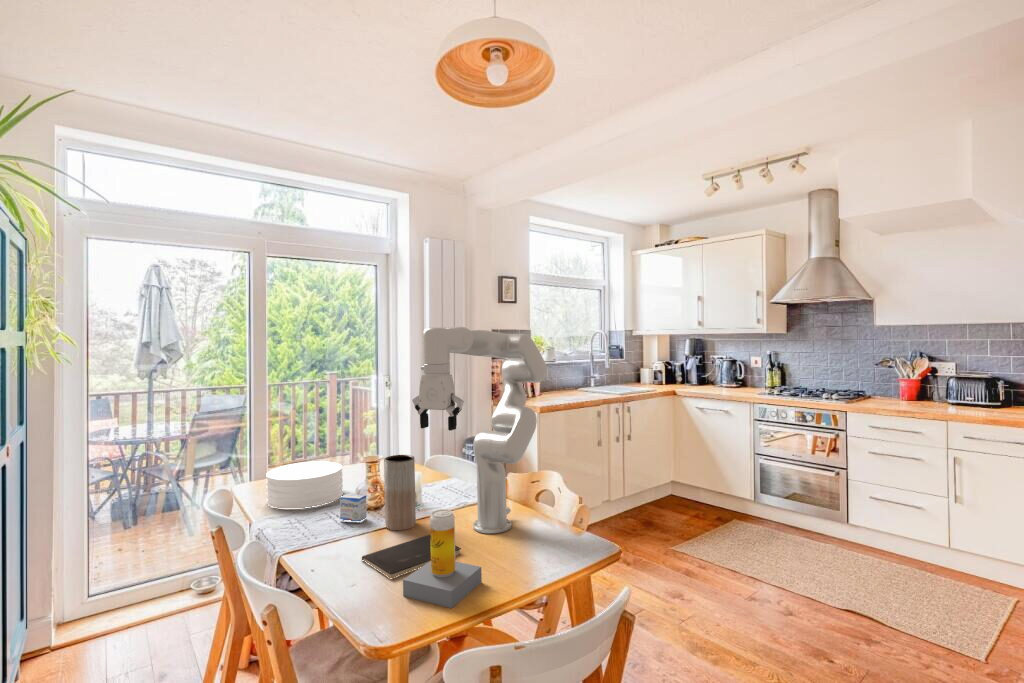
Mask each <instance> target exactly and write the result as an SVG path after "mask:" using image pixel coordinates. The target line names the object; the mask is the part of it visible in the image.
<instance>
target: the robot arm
mask: <svg viewBox="0 0 1024 683" xmlns="http://www.w3.org/2000/svg"><path fill="white" fill-rule="evenodd" d="M422 333H423V334H422V335H423V336H422V338H423V342H422V344H423V345H422V346H423V348H422V349H423V365H422V366H421V371H423V374H421V376H420V382H419V390H418V391H419V392H418V393H419V394H418V395H417V396H416V397H414V398H412V401H411V402H412V404H413V405H414V408H415V410H416V411H417V414H418V415H419V424H420V429H425V428H429V424H430V422H429V418H430V417H429V413H428V411H429V410H432V411H433V410H434V411H446V412H447V414H448V415H449V416H448V417H447V427H448V428H447V430H448V431H454V430H456V429H457V424H458V423H457V421H458V420H457V417H458V416H459V414H460V412H461V411H462V409H463V407H464V405H465V401H464V400H463V399H461V398H460V397H458V396H457V395H456V391H455V383H454V379H453V378H454V377H453V375H452V374H451V361H450V360H451V356H450V355H451V354H459V355H468V356H475V357H484V358H494V359H495V358H497V359H506V360H505V361H503V363H502V365H501V376H502V381H503V386H504V388H503V394H502V396H501V398H500V400H499V402H498V404H497V405H496V407H495V409H494V412H493V413H492V415H491V418H490V426H491V429H493V430H484V431H483V430H482V431H480V432H479V433H477V434H476V435H475V437H474V439H473V442H472V449H473V455H474V459H475V465H476V467H475V468H476V496H477V498H476V499H477V501H476V502H477V520H475V521H474V522H473V524H472V527H473V529H474V530H475V531H476V532H478V533H481V534H489V535H490V534H491V535H492V534H500V533H504V532H507V531H509V530H510V529H511V528H512V521H511V520H509V519H507V516H508V514H510V513H511V511H512V510H511V508H510V507H509V506H508V507H507V473H506V469H505V466H504V464H511V465H512V464H513V465H514V464H517V463H519V462H520V461H521V460H522V458H523V457H524V455H525V453H526V450H527V449H528V447H529V445H530V443H531V440H532V438H533V436H534V434H535V431H536V428H537V422H538V418H537V414H536V412H535V411H534V410H533V409H532V408H530V407H528V406H526V403H527V400H528V399H527V398H528V396H527V393H526V391H525V389H524V387H523V383H531V384H532V383H533V384H534V383H535V384H537V383H541V382H543V381H544V380H545V379H546V377H547V374H548V370H547V369H548V368H547V365H546V364H547V363H546V361H545V359H544V357H543V356H542V354H541V352H540V350H539V348H538V347H537V345H536V343H535V341H534V340H533V339H532V338H531V337H530V336H529V335H528V334H526V333H503V332H498V331H492V330H487V329H486V330H485V329H475V330H474V329H471V330H470V329H469V328H467V327H464V326H443V327H442V326H441V327H427V328H425V329H424V330H423V332H422ZM455 405H456V407H455ZM503 463H504V464H503Z"/></svg>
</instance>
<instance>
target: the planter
mask: <svg viewBox="0 0 1024 683" xmlns="http://www.w3.org/2000/svg"><path fill="white" fill-rule="evenodd" d="M415 461H416V460H415V456H414V455H411V454H396V455H389V456H386V457H384V458H383V477H384V478H383V479H384V480H383V481H384V482H383V484H384V517H385V518H384V520H385V521H384V523H385V525H384V526H385V528H386V527H387V528H388V530H389V529H390V530H389V531H395V530H399V531H405V530H409V529H411V528H414V526H416V523H417V520H416V519H417V516H416V514H417V512H416V510H417V509H416V474H415V472H416V466H415V464H416V463H415ZM387 528H386V529H387Z"/></svg>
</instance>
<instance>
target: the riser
mask: <svg viewBox="0 0 1024 683" xmlns="http://www.w3.org/2000/svg"><path fill="white" fill-rule="evenodd" d="M455 563H456V569H455V571H454V572H453V574H452V575H450V576H448V577H436V576H435V575H434V574H433V573H432V572H431V561H430V562H428V563H427V564H425V565H424V566H422V567H421V568H419V569H418V570H415V571H413V572H411V574H409V575H407V576H406V577H405V578H403V579H402V595H403V597H406V598H409V599H414V600H418V601H421V602H425V603H429V604H433V605H437V606H441V607H444V608H449V609H453V608H454V607H455V606H456V605H458V603H459V602H461V601H462V600H463V599H464V598H465V597H467V596H468V595H469V594H470V593H471V592H472V591H473V590H475V589H476V588H477V587H478V586H479V585H480V584H481V583H482V582H483V581H482V579H483V578H482V566H479V565H474V564H469V563H465V562H459V561H457V560H455Z"/></svg>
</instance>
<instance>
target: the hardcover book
mask: <svg viewBox="0 0 1024 683" xmlns="http://www.w3.org/2000/svg"><path fill="white" fill-rule="evenodd" d="M460 550H462V548H461V547H459V546H458V545H455V556H458V555H460V554H461V551H460ZM457 554H458V555H457ZM362 560H364V561H366V562H367V563H369V564H370V565H372V566H373V567H375V568H376V569H378V570H379V571H381V572H382V573H384V574H385V575H387V576H388V577H389V578H394V577H396V576H398V575H401V574H404V573H406V572H409V571H412V570H414V569H418V568H420V567H422V566H424V565H425V564H427V563H428V562H430V561H431V542H430V534H426V535H423V536H420V537H417V538H414V539H411V540H408V541H406V542H402V543H398V544H396V545H392V546H389V547H387V548H386V547H385V548H383V549H379V550H378V551H374V552H371V553H368V554H364V555H362V557H361V561H362ZM412 572H413V571H412ZM382 573H381V574H382ZM385 575H384V576H385ZM404 575H405V574H404ZM388 577H387V578H388ZM389 578H388V579H389ZM396 578H397V577H396ZM394 579H395V578H394Z"/></svg>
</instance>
